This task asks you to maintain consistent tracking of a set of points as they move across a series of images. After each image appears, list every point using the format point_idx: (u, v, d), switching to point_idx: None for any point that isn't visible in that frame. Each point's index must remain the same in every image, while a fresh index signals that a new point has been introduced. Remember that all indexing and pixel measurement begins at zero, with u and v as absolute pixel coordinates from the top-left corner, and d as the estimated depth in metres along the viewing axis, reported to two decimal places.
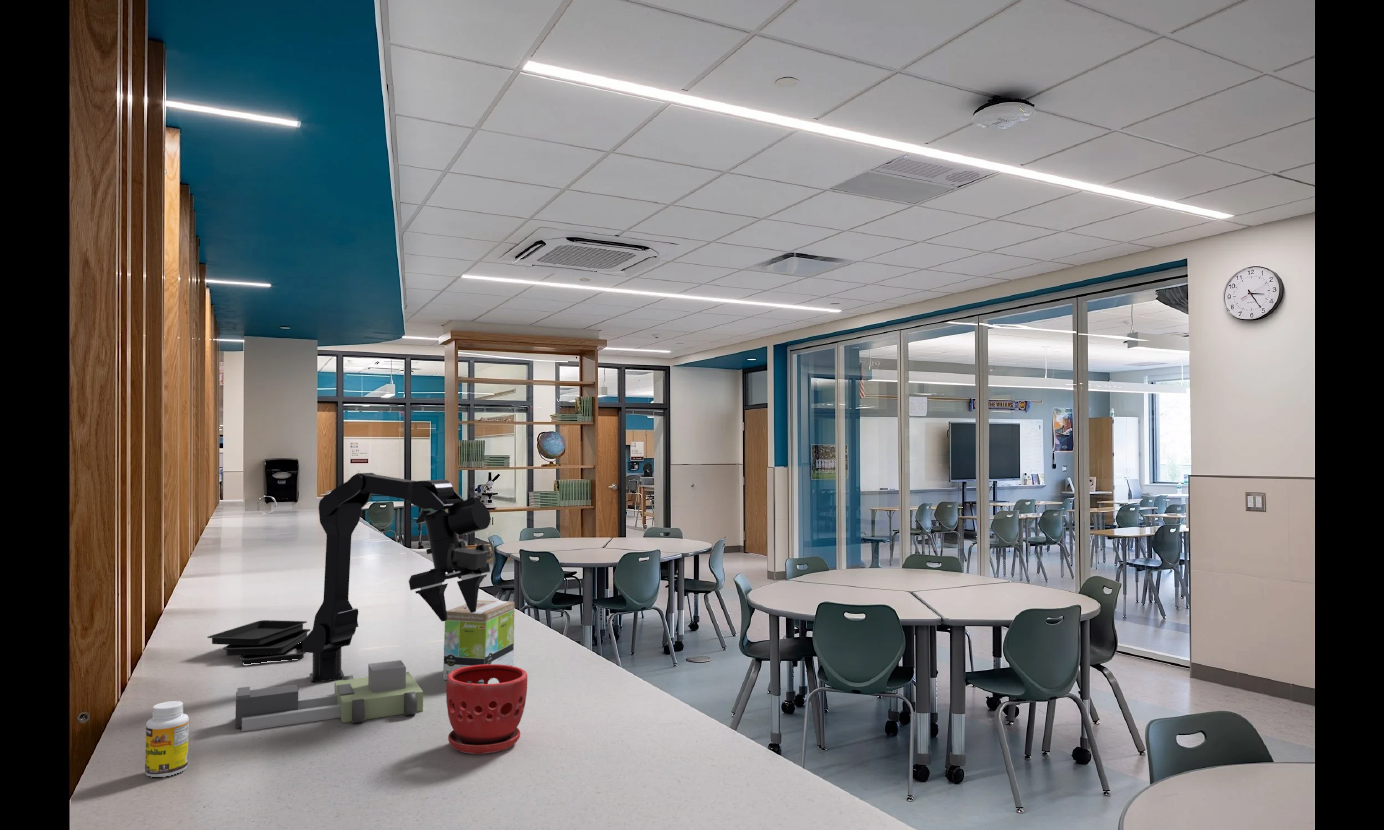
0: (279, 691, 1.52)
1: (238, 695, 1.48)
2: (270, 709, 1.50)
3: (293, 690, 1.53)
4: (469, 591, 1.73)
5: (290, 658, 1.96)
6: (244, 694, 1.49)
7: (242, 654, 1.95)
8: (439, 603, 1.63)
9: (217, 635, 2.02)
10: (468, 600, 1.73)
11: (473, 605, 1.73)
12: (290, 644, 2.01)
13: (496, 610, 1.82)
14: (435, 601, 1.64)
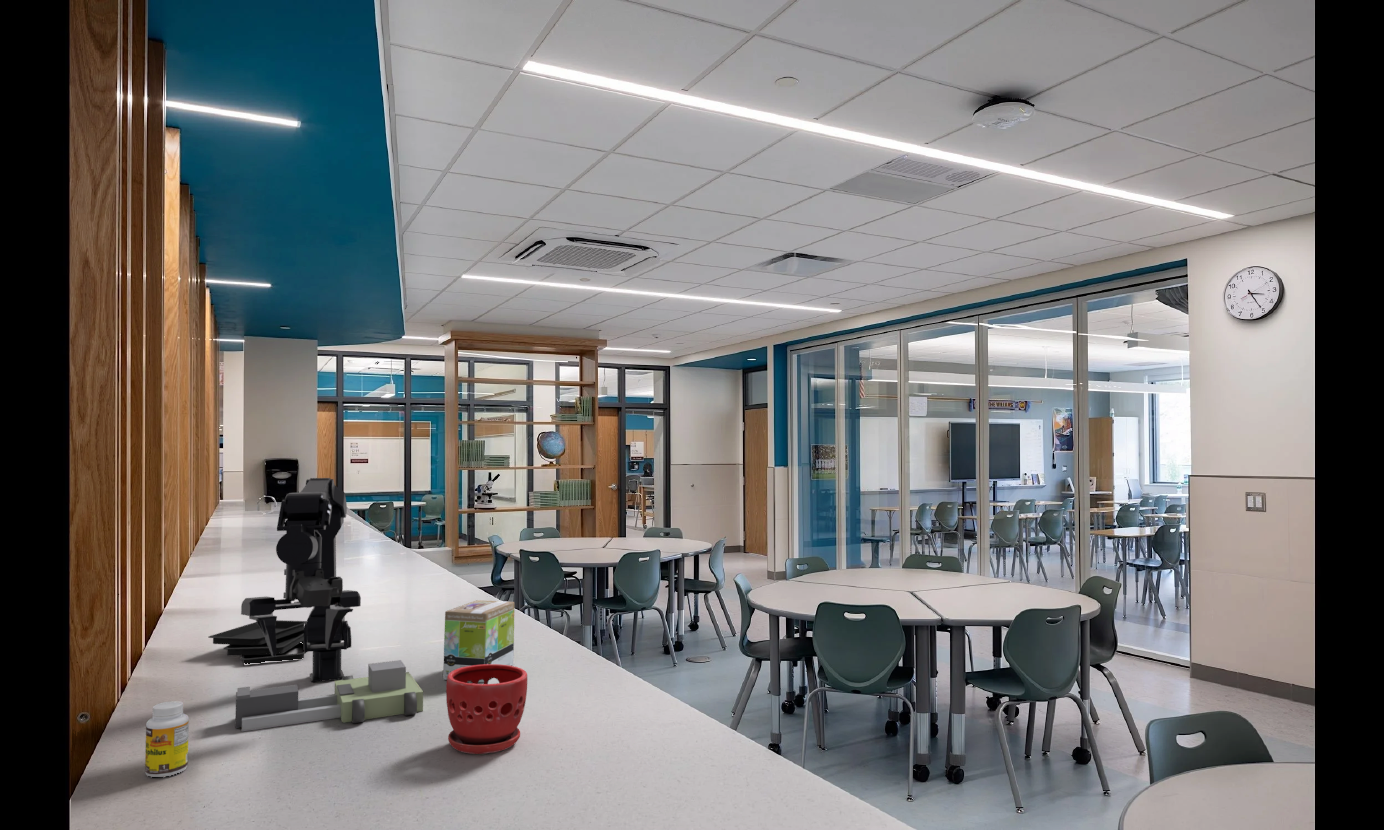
0: (279, 691, 1.52)
1: (238, 695, 1.48)
2: (270, 709, 1.50)
3: (293, 690, 1.53)
4: (329, 624, 1.52)
5: (290, 658, 1.96)
6: (244, 694, 1.49)
7: (243, 654, 1.95)
8: (268, 635, 1.45)
9: (218, 635, 2.02)
10: (327, 634, 1.52)
11: (328, 641, 1.51)
12: (291, 644, 2.02)
13: (496, 610, 1.82)
14: (266, 632, 1.45)
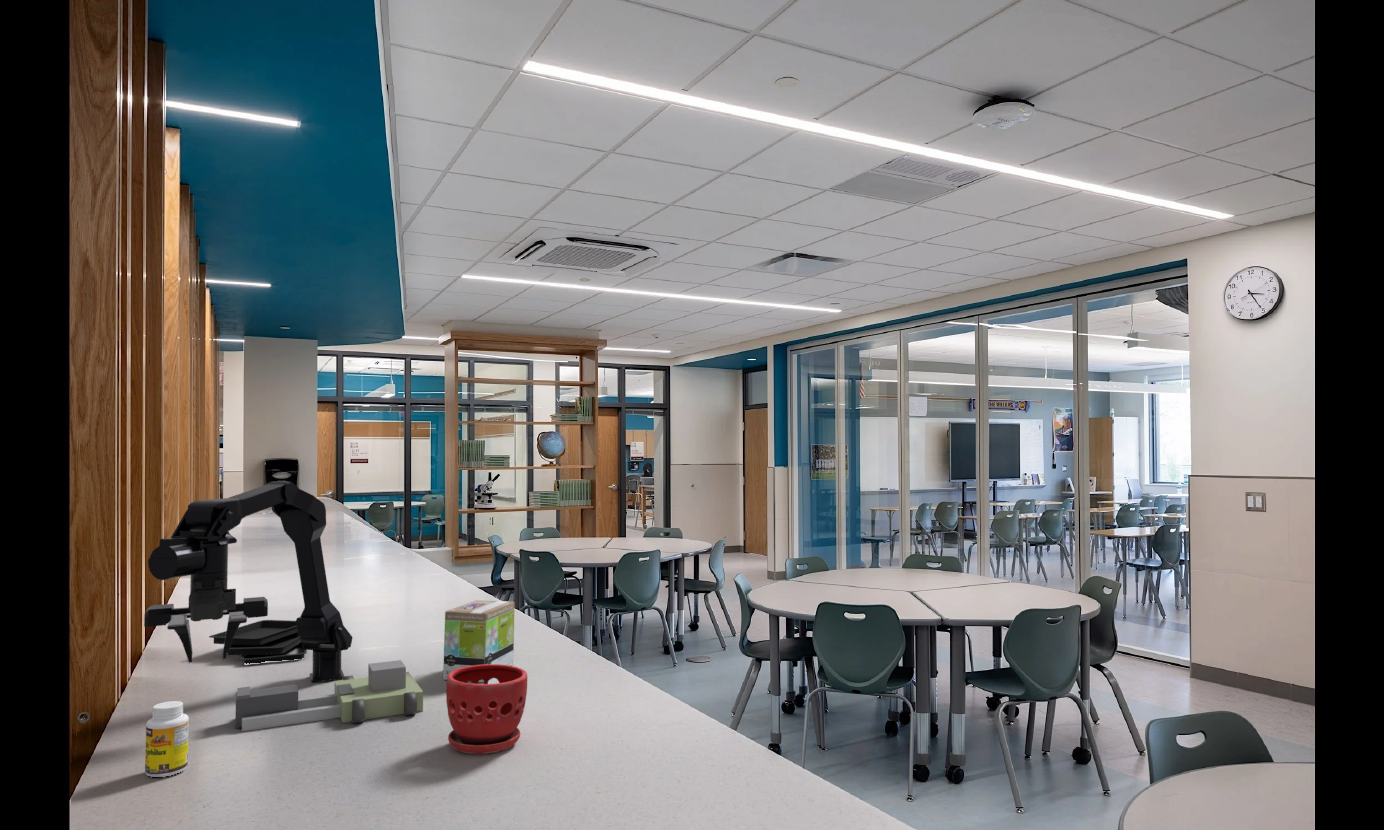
0: (279, 691, 1.52)
1: (238, 695, 1.48)
2: (270, 709, 1.50)
3: (293, 690, 1.53)
4: None
5: (291, 658, 1.96)
6: (244, 694, 1.49)
7: (243, 654, 1.95)
8: None
9: (219, 635, 2.02)
10: None
11: (223, 651, 1.49)
12: (291, 644, 2.02)
13: (496, 610, 1.82)
14: None
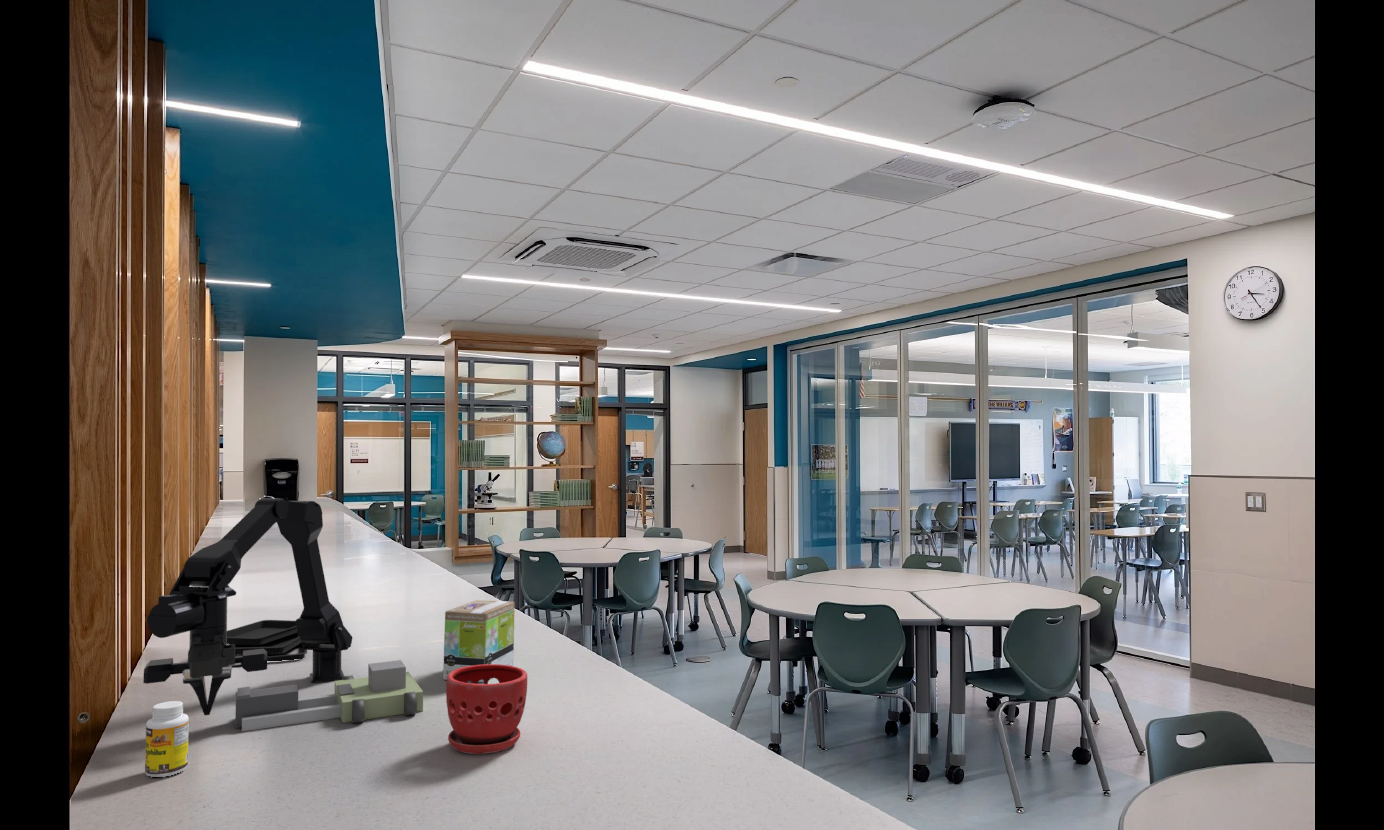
0: (279, 691, 1.52)
1: (238, 695, 1.48)
2: (270, 709, 1.50)
3: (293, 690, 1.53)
4: None
5: (291, 658, 1.96)
6: (244, 694, 1.49)
7: None
8: None
9: None
10: None
11: None
12: (291, 644, 2.02)
13: (496, 610, 1.82)
14: None
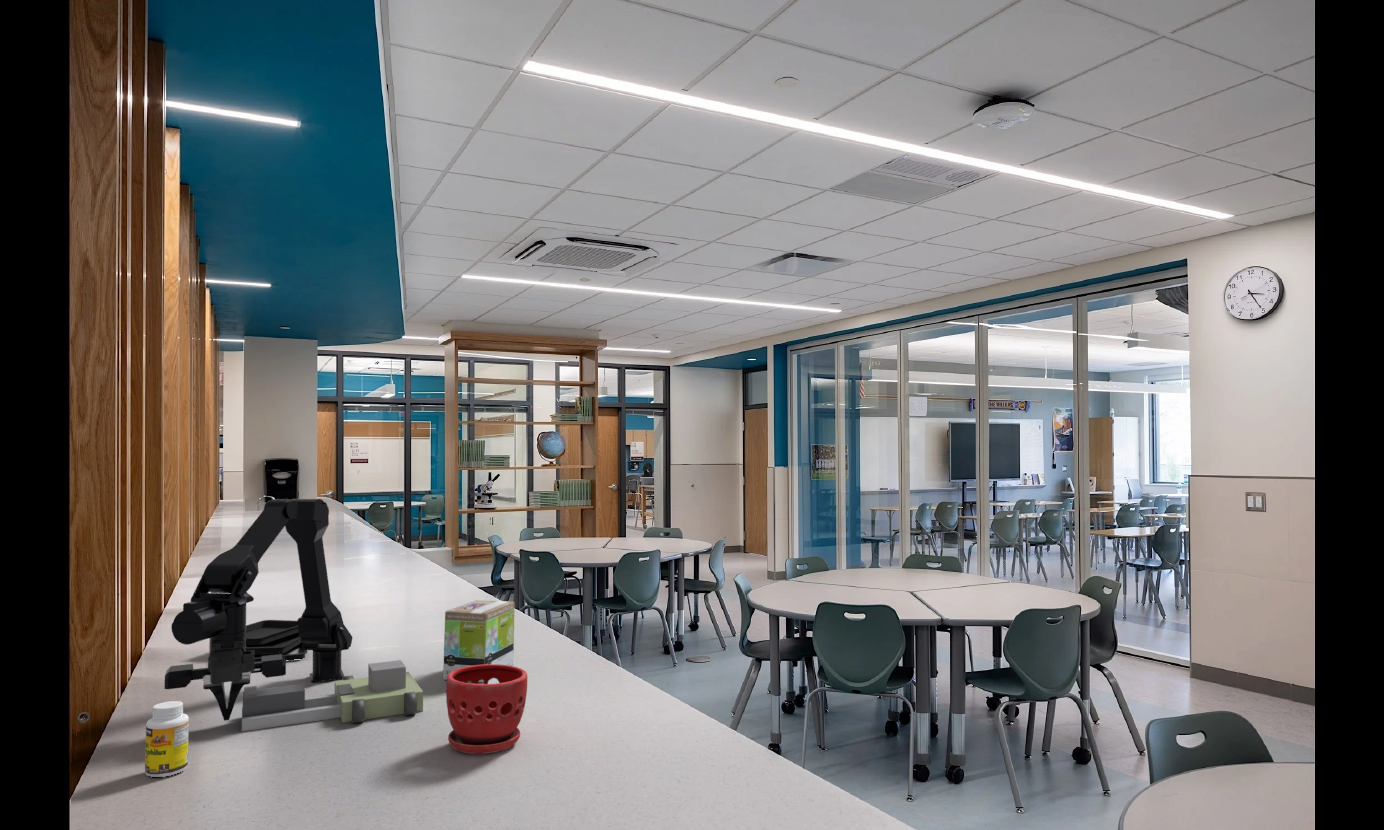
0: (286, 690, 1.53)
1: (245, 694, 1.49)
2: (276, 709, 1.51)
3: (299, 689, 1.53)
4: (229, 694, 1.50)
5: (291, 658, 1.96)
6: (251, 693, 1.49)
7: None
8: (217, 701, 1.48)
9: None
10: None
11: None
12: (292, 644, 2.02)
13: (496, 610, 1.82)
14: None
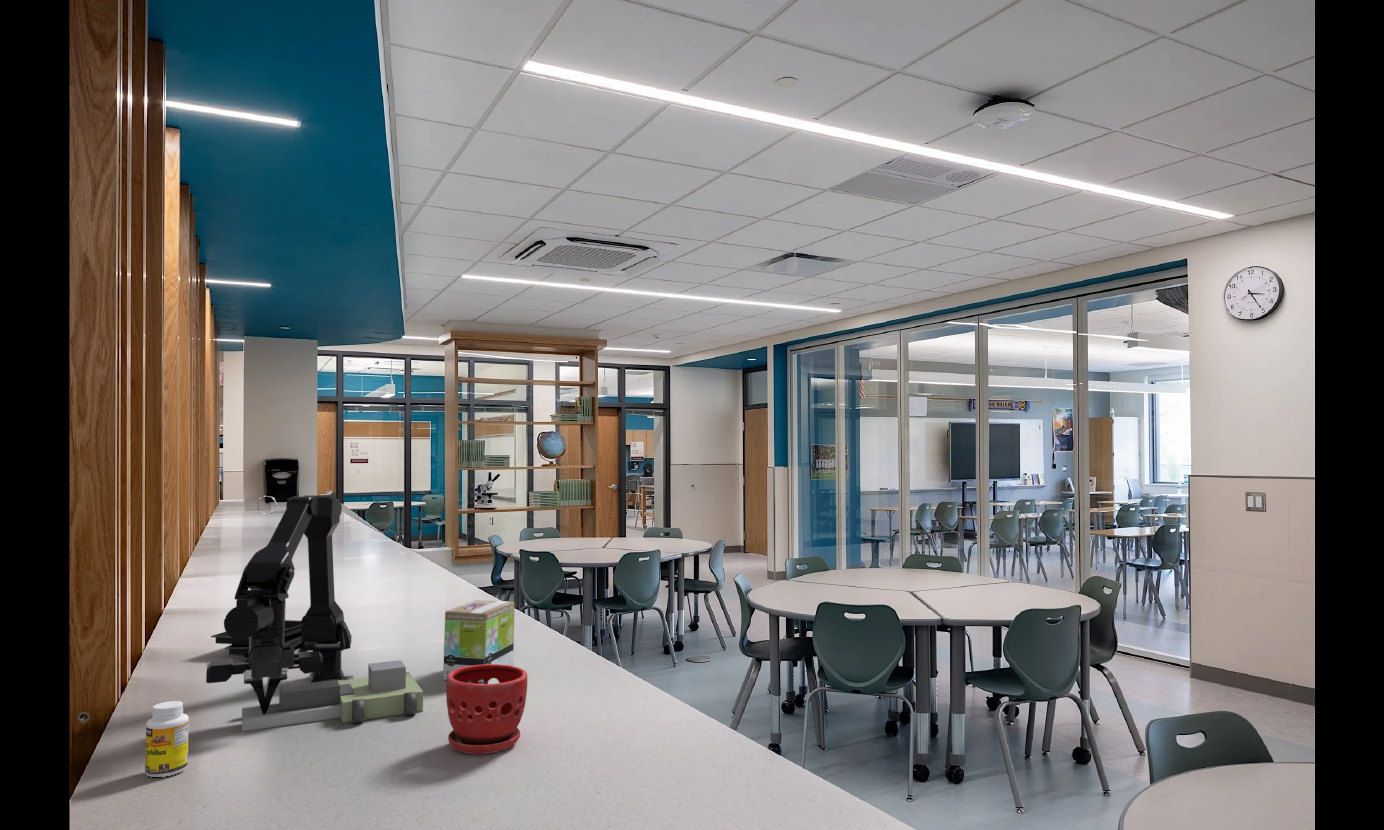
0: (321, 686, 1.56)
1: (282, 689, 1.51)
2: (312, 704, 1.54)
3: (334, 685, 1.56)
4: (266, 689, 1.53)
5: None
6: (288, 689, 1.52)
7: (244, 654, 1.95)
8: (257, 696, 1.51)
9: (221, 634, 2.03)
10: None
11: None
12: (292, 644, 2.02)
13: (496, 610, 1.82)
14: None
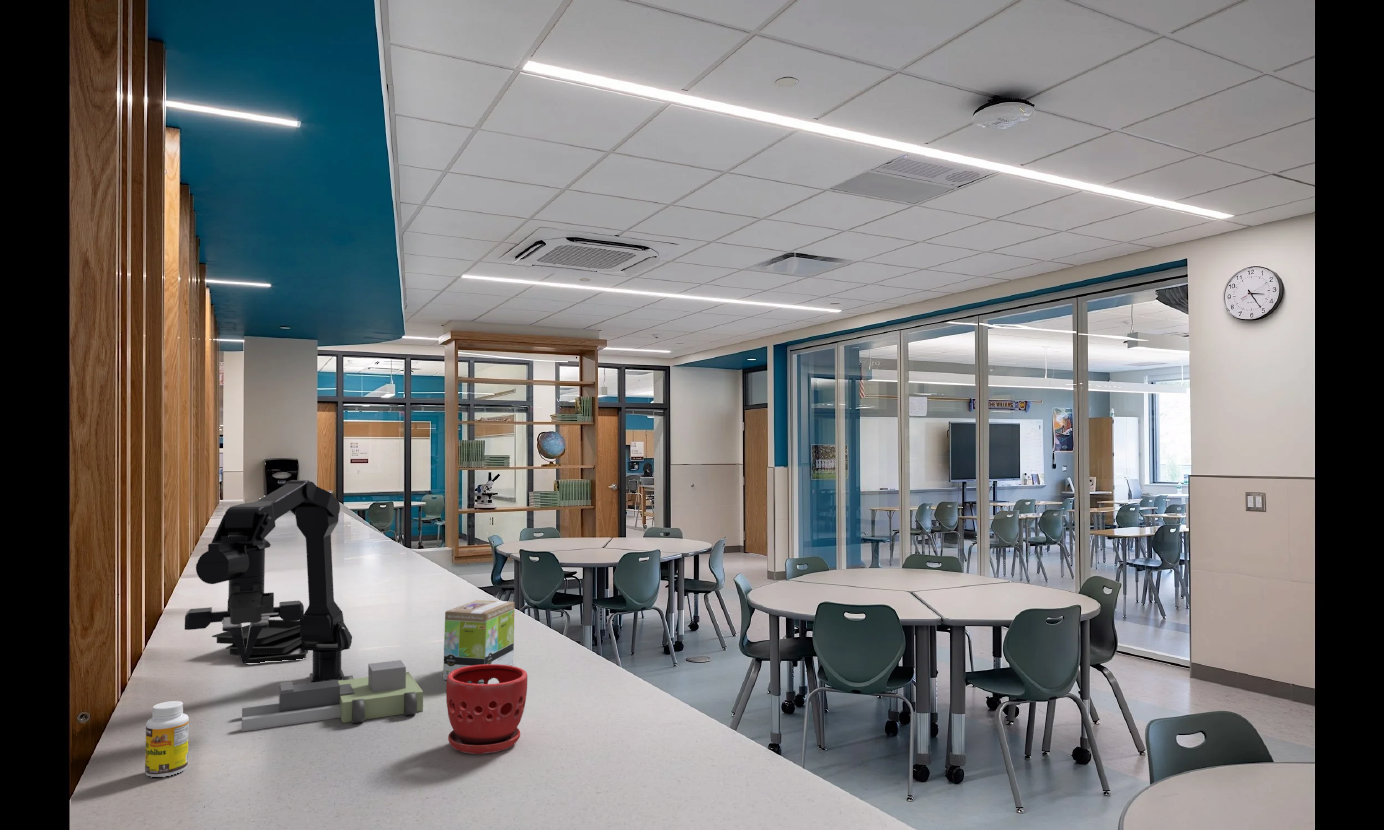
0: (321, 686, 1.56)
1: (282, 689, 1.51)
2: (312, 704, 1.54)
3: (334, 685, 1.56)
4: None
5: (292, 658, 1.96)
6: (288, 689, 1.52)
7: None
8: None
9: (222, 634, 2.03)
10: (246, 647, 1.51)
11: None
12: (293, 644, 2.02)
13: (496, 610, 1.82)
14: None
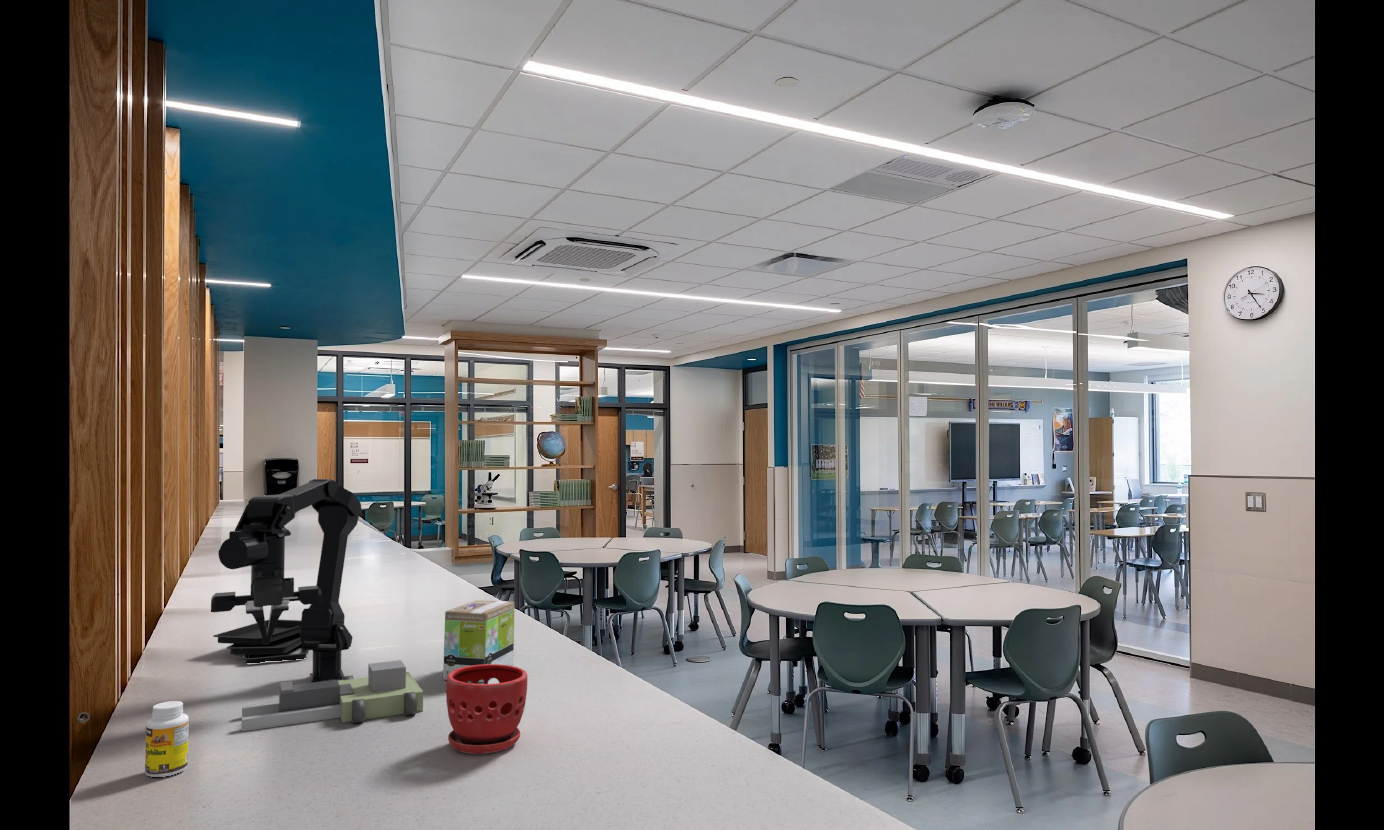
0: (321, 686, 1.56)
1: (282, 689, 1.51)
2: (312, 704, 1.54)
3: (334, 685, 1.56)
4: (269, 620, 1.61)
5: (292, 658, 1.96)
6: (288, 689, 1.52)
7: (245, 653, 1.95)
8: None
9: (223, 634, 2.03)
10: None
11: None
12: (294, 644, 2.02)
13: (496, 610, 1.82)
14: None
